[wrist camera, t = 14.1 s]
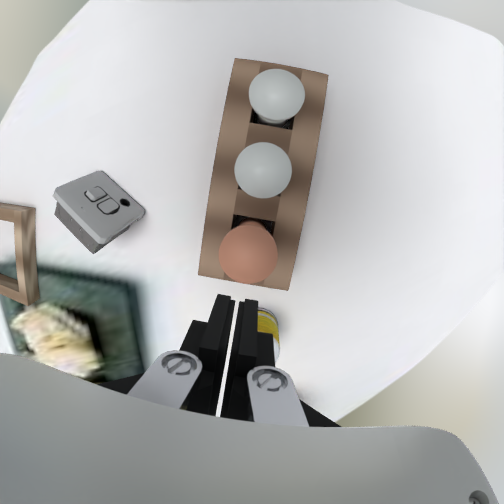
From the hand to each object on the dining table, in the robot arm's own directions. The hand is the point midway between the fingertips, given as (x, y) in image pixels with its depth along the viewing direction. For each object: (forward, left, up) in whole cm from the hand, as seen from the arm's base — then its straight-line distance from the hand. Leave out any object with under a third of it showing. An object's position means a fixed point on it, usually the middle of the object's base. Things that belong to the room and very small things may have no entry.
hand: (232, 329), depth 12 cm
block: (-7, 0, -25) cm, 26 cm away
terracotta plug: (0, 0, -22) cm, 22 cm away
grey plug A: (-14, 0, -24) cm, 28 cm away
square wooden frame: (+10, -43, -25) cm, 51 cm away
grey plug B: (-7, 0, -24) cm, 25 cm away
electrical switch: (0, -19, -25) cm, 32 cm away
